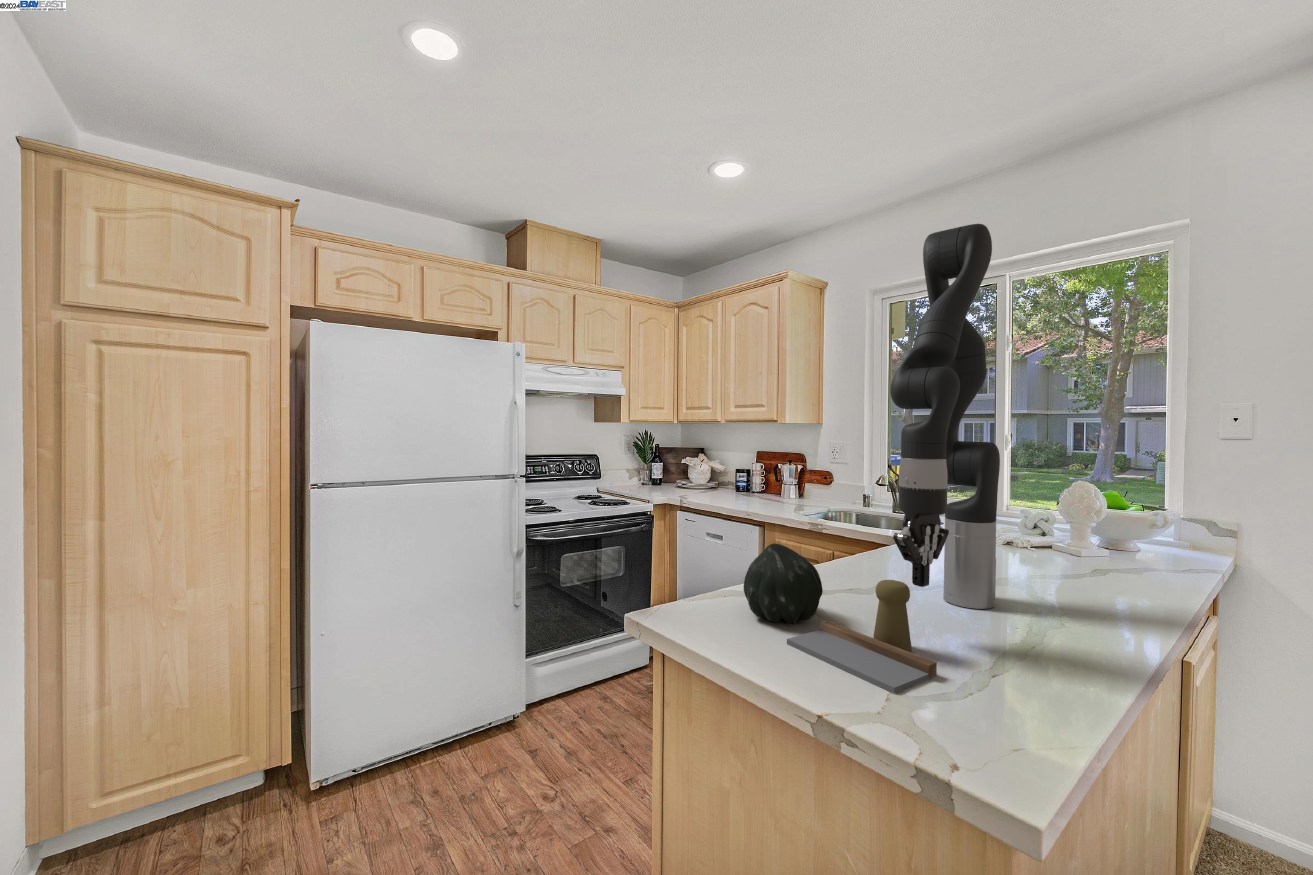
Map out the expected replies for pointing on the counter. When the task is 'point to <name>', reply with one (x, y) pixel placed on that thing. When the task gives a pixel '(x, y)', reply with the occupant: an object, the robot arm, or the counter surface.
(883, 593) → the olive pawn-shaped piece
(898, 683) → the slate mat
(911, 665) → the walnut rail
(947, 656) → the counter surface
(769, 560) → the squash
